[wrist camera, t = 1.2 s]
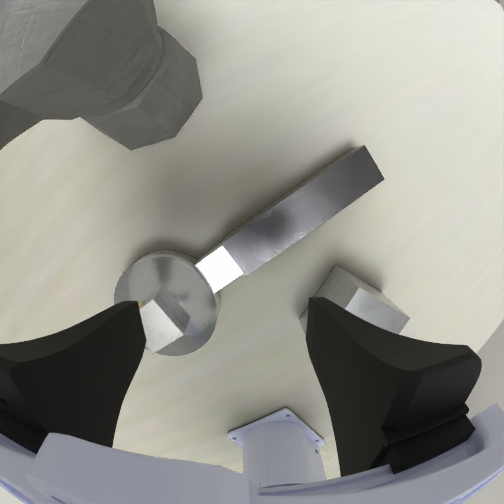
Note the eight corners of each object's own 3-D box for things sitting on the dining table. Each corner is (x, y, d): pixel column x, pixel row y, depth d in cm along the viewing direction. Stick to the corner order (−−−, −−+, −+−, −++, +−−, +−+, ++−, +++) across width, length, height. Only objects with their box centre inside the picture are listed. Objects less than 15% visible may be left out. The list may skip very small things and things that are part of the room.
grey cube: (381, 292, 22) (410, 318, 17) (347, 341, 23) (367, 375, 18) (335, 264, 21) (360, 288, 16) (299, 319, 22) (312, 354, 17)
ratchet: (386, 206, 20) (421, 214, 15) (168, 353, 23) (154, 388, 18) (334, 120, 18) (359, 103, 13) (109, 285, 21) (80, 309, 16)
